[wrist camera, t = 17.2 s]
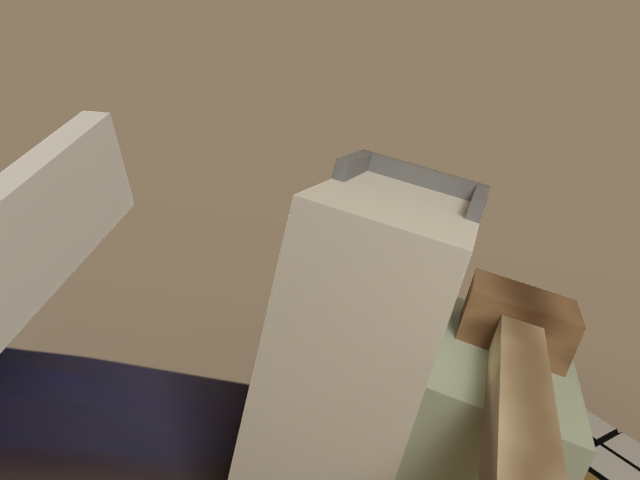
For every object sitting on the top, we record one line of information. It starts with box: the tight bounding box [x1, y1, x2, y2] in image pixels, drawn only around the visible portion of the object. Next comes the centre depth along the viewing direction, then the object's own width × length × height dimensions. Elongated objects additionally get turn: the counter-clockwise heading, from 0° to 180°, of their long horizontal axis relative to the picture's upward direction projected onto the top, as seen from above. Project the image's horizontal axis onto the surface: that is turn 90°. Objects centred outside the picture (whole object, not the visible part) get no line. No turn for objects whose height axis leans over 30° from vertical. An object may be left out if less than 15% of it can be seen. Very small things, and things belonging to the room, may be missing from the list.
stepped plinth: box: [228, 150, 596, 480], centre depth 45 cm, size 21×18×30 cm
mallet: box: [455, 268, 586, 480], centre depth 34 cm, size 8×28×4 cm, turn 161°
